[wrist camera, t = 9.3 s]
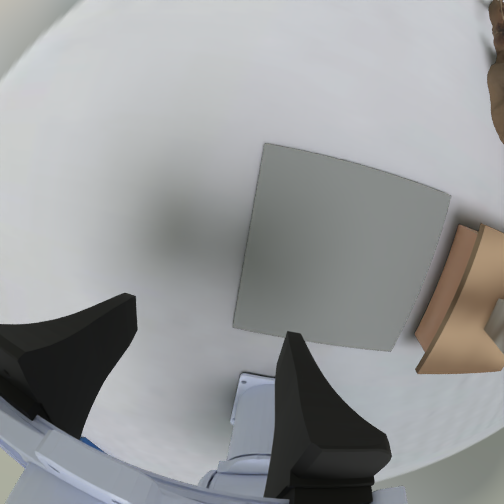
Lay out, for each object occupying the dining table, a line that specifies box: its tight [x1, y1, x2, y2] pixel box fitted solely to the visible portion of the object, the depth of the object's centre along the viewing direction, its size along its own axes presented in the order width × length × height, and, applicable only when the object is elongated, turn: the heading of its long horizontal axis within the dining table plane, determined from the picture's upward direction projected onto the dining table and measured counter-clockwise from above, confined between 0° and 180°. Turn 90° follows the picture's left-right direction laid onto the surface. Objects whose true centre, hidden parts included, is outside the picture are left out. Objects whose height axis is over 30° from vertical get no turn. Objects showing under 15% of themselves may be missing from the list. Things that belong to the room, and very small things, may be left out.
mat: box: [233, 143, 451, 352], centre depth 20 cm, size 15×15×1 cm
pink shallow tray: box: [415, 224, 478, 352], centre depth 18 cm, size 11×11×4 cm
